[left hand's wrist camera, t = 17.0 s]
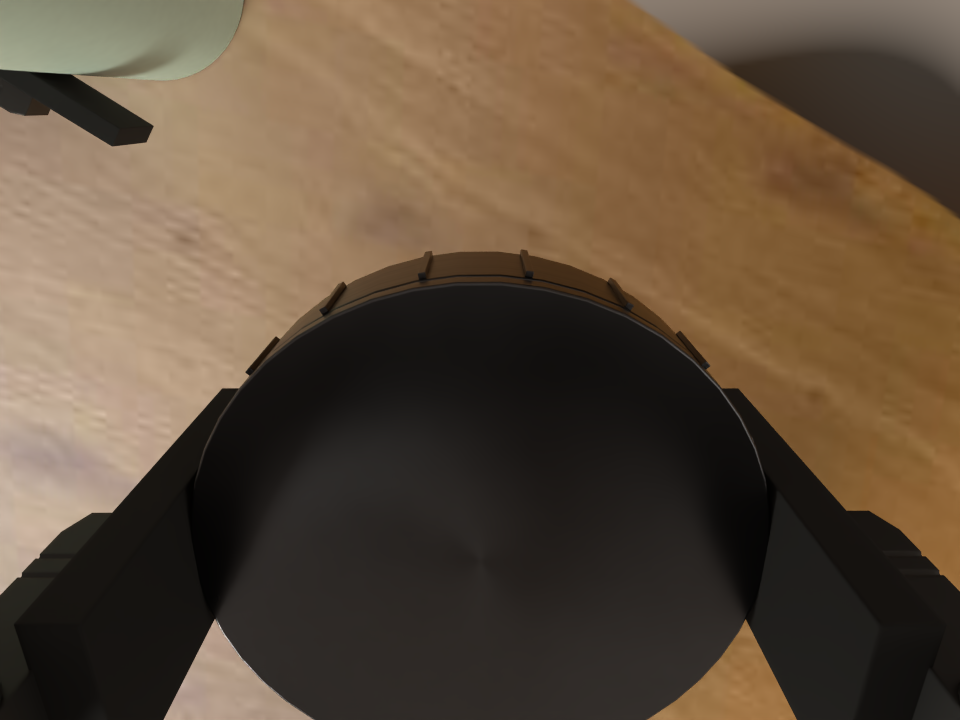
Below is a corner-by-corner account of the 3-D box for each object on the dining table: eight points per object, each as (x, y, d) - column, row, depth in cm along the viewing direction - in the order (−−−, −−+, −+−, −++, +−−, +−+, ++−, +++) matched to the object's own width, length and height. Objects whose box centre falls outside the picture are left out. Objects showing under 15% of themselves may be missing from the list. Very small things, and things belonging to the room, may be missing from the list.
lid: (423, 739, 15) (415, 832, 13) (122, 433, 12) (56, 494, 10) (810, 548, 13) (865, 624, 11) (560, 129, 10) (578, 136, 8)
